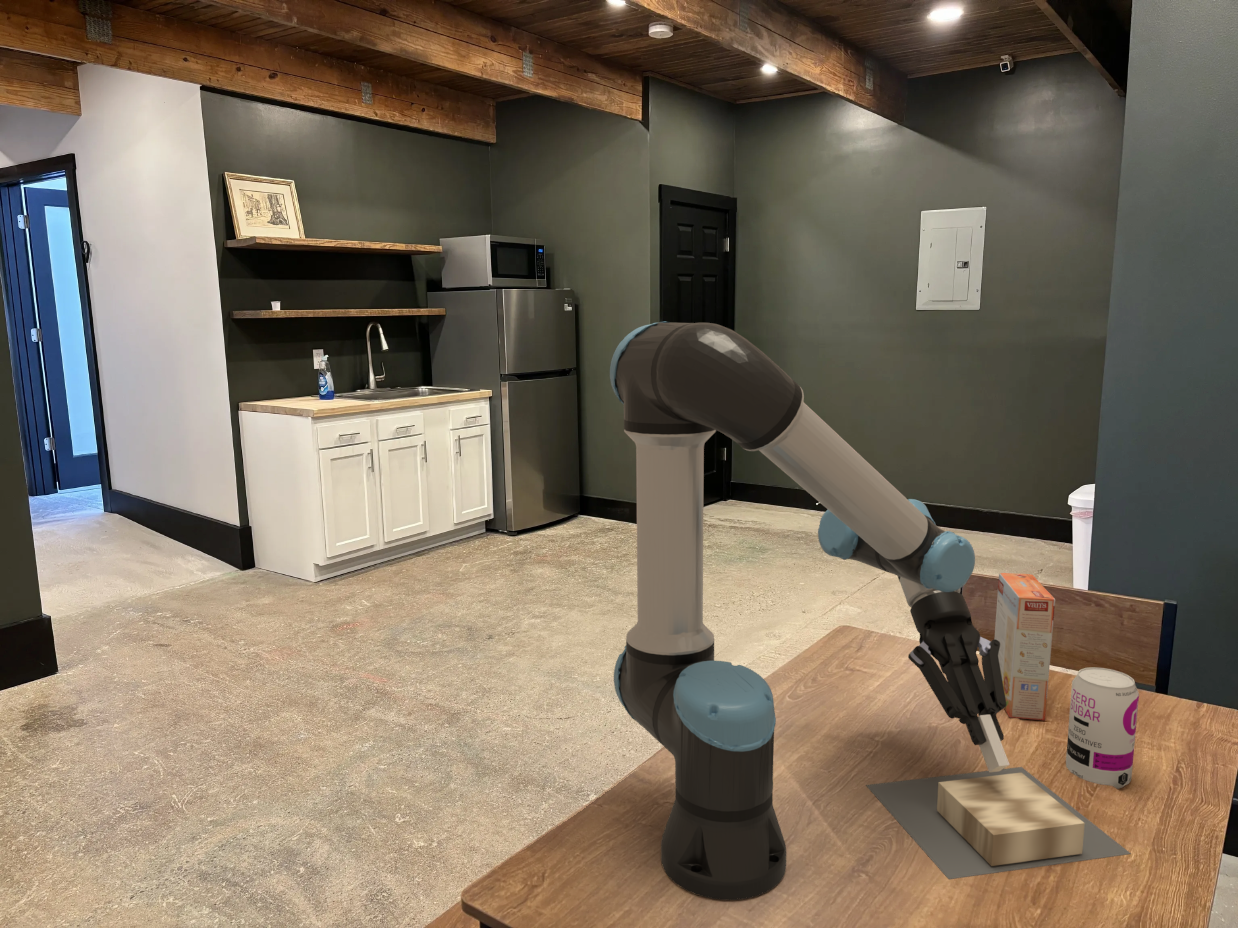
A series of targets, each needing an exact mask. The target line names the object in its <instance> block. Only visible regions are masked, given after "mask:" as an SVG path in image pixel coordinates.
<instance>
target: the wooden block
mask: <svg viewBox="0 0 1238 928" xmlns="http://www.w3.org/2000/svg"><path fill="white" fill-rule="evenodd" d="M937 811H938V812H939V813H940V814H941V815H942V816H943V817H944V818H945V819H946V820H947V821H948V822H949V823H950V824H951V825H952V826H953V827H954V828H955V829H956V830H957V831H958V832H959V833H960V834H961V836H962V837H963V838H964V839H965V840H966V841H967V842H968V843H969V844H970V845H971V846H972V847H973V848H974V849H975V850H976V851H977V852H978V853H979V854H980V855H981V856H982V857H983V858H984V859H985V860H986V861H987V862H988V863H989V864H990V865H991V866H996V865H1003V864H1011V863H1018V862H1025V861H1032V860H1040V859H1047V858H1054V857H1061V856H1069V855H1076V854H1082V849H1083V837H1084V825H1085V823H1084V822H1083V821H1081V820H1080V819H1079V818H1078V817H1076V816H1075V815H1074V814H1073V813H1071V812H1070V811H1069V810H1068V809H1066V808H1065V807H1064V806H1063V805H1061V804H1060V803H1059V802H1058V801H1056V800H1055V799H1054V798H1053V797H1051V796H1050V795H1049V794H1048V793H1046V792H1045V791H1044V790H1043V789H1041V788H1040V787H1039V786H1038V785H1036V784H1035V783H1034V782H1033V781H1031V780H1030V779H1029V778H1028V777H1027V776H1025V775H1024V774H1023V773H1022V772H1021V773H1013V774H1004V775H996V776H987V777H979V778H970V779H962V780H953V781H945V782H938V800H937Z"/></svg>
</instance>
